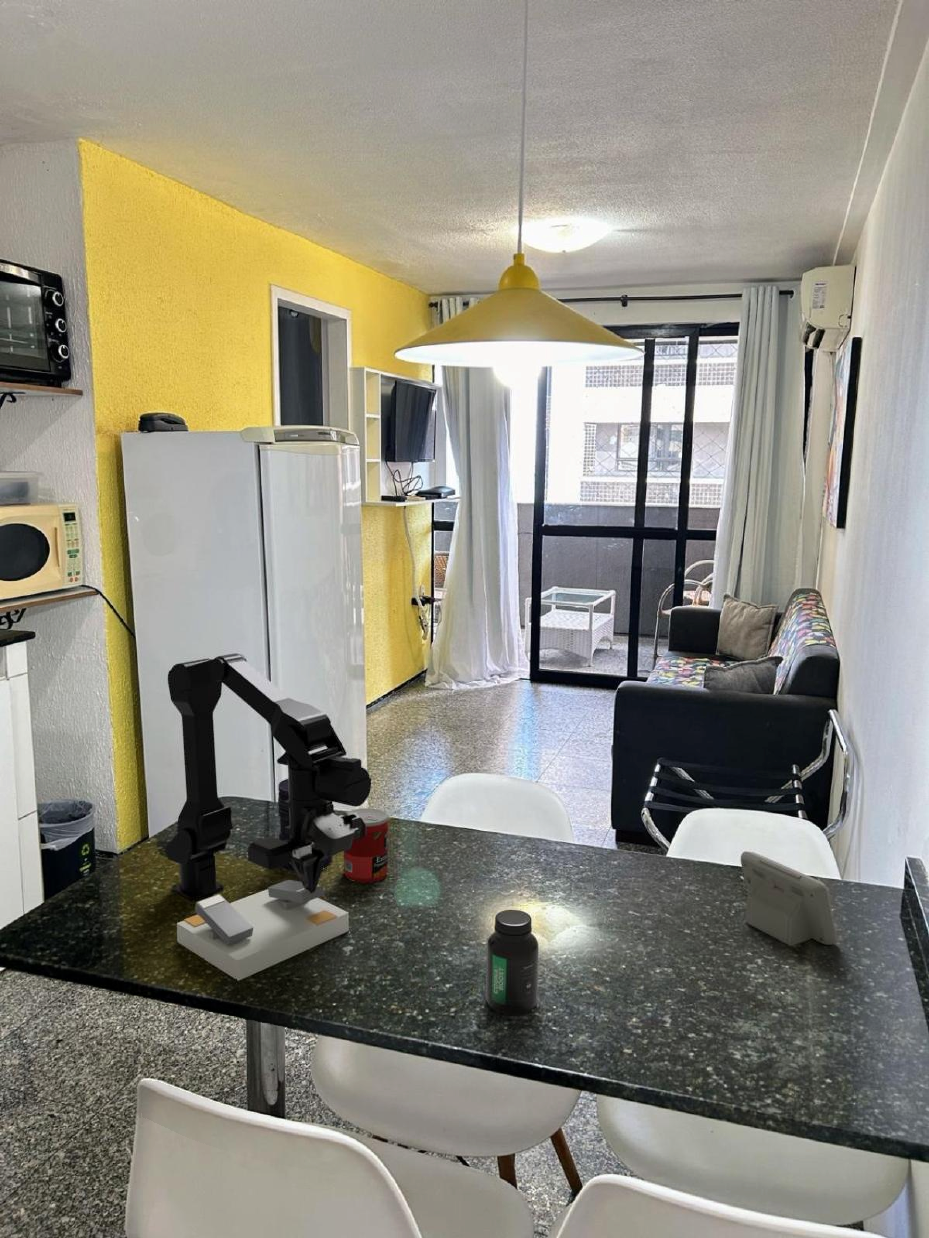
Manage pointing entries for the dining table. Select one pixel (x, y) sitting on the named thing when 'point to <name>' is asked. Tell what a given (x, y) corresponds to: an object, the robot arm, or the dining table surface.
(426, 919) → the dining table surface
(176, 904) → the dining table surface
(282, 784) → the storage jar
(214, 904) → the block
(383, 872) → the canned food
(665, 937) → the dining table surface
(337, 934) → the switch base
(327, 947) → the dining table surface
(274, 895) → the rocker
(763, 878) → the digital clock
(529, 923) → the supplement bottle
